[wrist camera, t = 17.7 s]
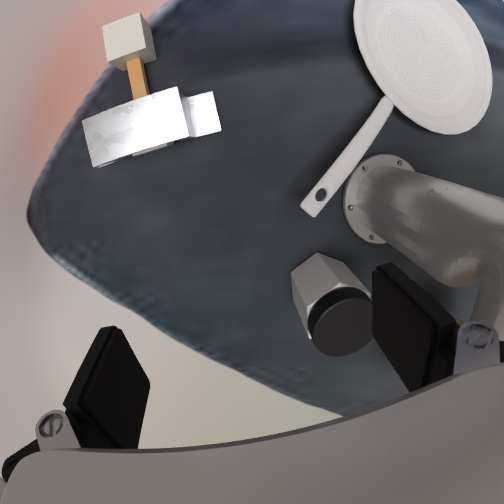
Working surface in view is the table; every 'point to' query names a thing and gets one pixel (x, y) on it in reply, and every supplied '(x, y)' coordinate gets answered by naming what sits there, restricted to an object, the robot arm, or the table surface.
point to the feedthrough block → (149, 124)
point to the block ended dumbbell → (132, 55)
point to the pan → (395, 89)
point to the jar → (332, 305)
